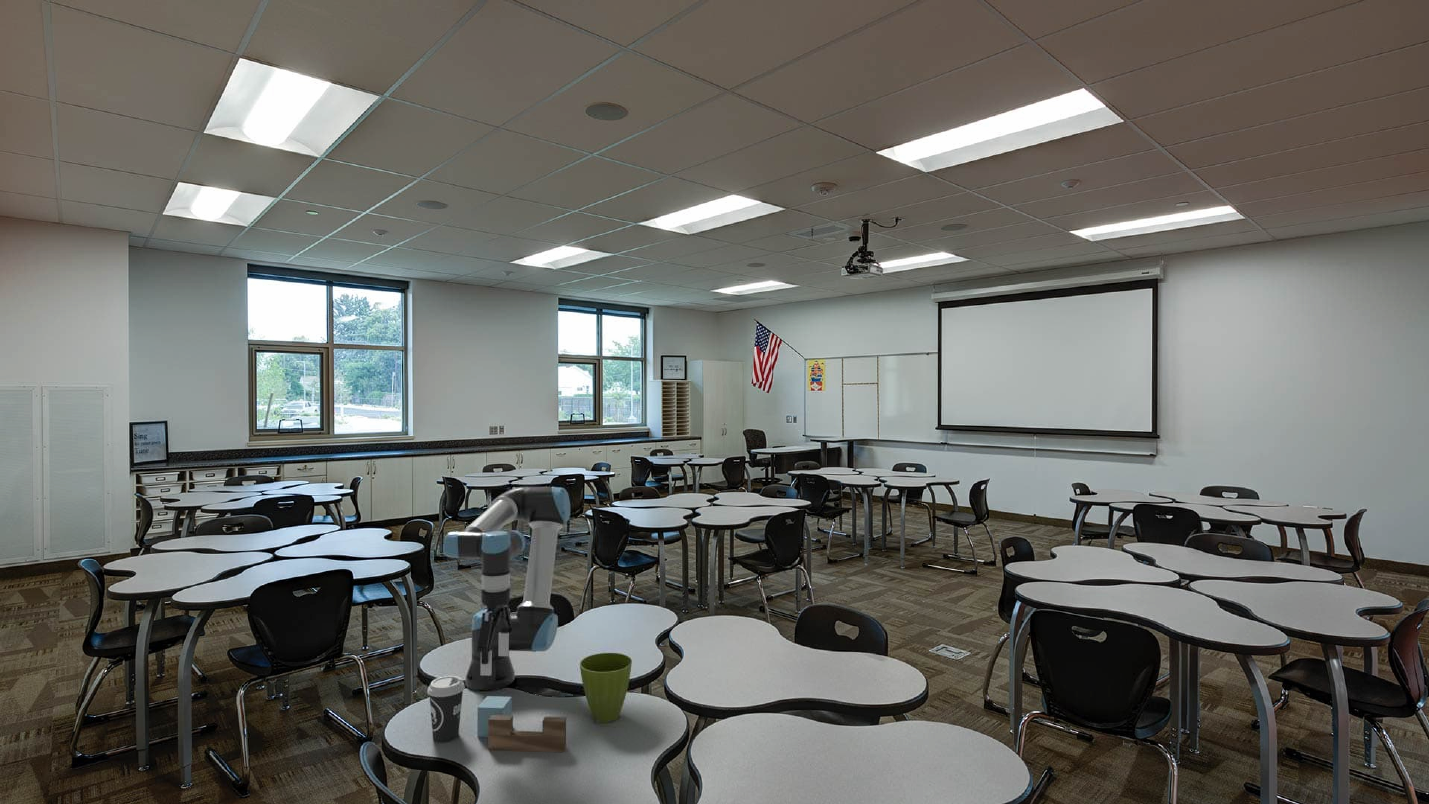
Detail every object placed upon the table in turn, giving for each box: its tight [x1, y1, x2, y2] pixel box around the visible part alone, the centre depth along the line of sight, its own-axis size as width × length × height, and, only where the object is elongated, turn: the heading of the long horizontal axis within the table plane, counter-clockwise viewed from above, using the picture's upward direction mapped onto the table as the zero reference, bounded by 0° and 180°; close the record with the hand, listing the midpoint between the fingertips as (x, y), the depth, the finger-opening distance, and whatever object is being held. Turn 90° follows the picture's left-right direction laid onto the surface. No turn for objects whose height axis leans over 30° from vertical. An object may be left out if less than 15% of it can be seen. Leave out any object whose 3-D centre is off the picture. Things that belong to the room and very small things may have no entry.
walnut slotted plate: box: [487, 715, 567, 753], centre depth 180 cm, size 2×20×8 cm, turn 88°
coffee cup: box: [426, 675, 466, 743], centre depth 186 cm, size 10×10×15 cm
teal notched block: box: [476, 695, 513, 738], centre depth 190 cm, size 7×7×8 cm
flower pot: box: [579, 652, 633, 723], centre depth 198 cm, size 15×15×16 cm
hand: (495, 665), depth 189 cm, fingers open, 13 cm apart
